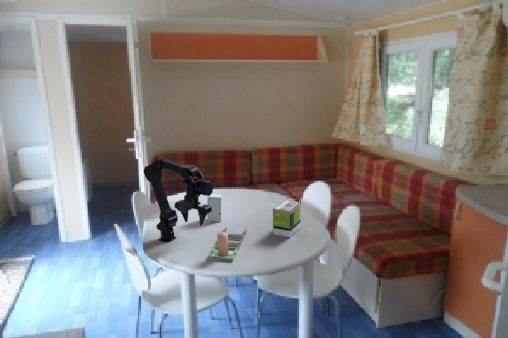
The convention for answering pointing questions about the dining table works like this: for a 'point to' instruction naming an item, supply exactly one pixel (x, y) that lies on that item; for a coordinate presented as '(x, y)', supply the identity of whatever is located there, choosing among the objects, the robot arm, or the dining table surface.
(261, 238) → the dining table surface
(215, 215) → the skincare box
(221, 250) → the peach capsule
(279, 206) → the tea box
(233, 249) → the frame
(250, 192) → the dining table surface
